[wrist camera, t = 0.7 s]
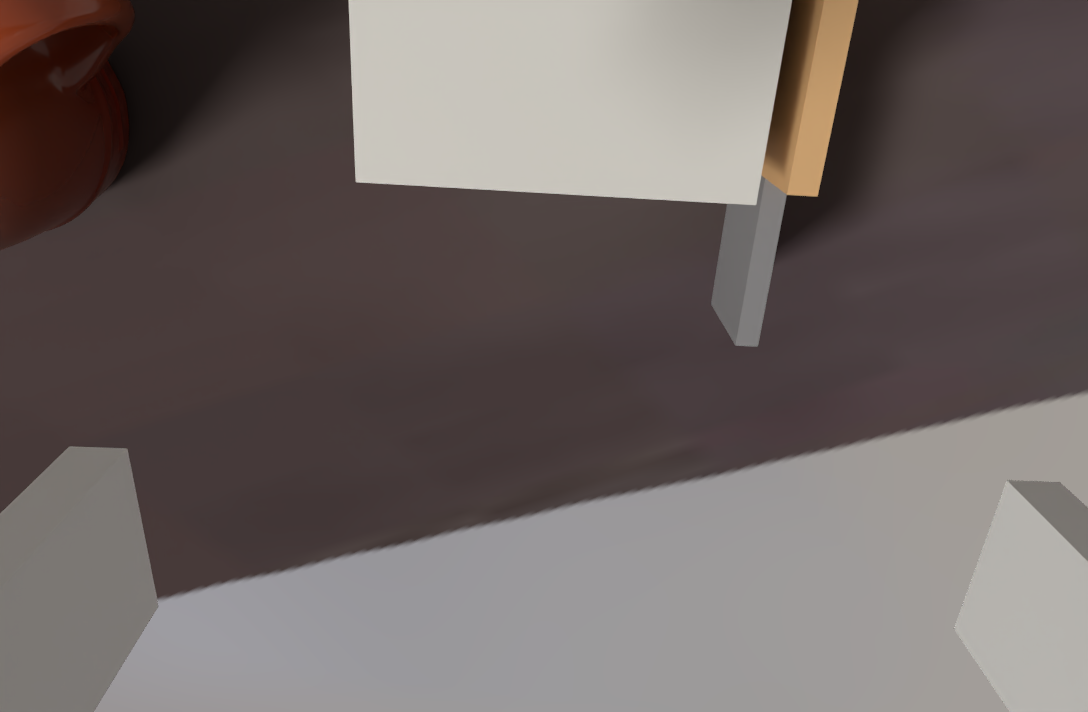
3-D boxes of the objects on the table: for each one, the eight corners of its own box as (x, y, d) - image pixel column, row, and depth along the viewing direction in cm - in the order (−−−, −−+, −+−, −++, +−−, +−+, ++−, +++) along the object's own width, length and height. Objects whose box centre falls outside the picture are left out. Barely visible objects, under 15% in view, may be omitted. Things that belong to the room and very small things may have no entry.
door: (685, 289, 29) (733, 379, 22) (765, -265, 22) (871, -386, 15) (723, 291, 29) (782, 381, 22) (814, -261, 22) (942, -379, 15)
